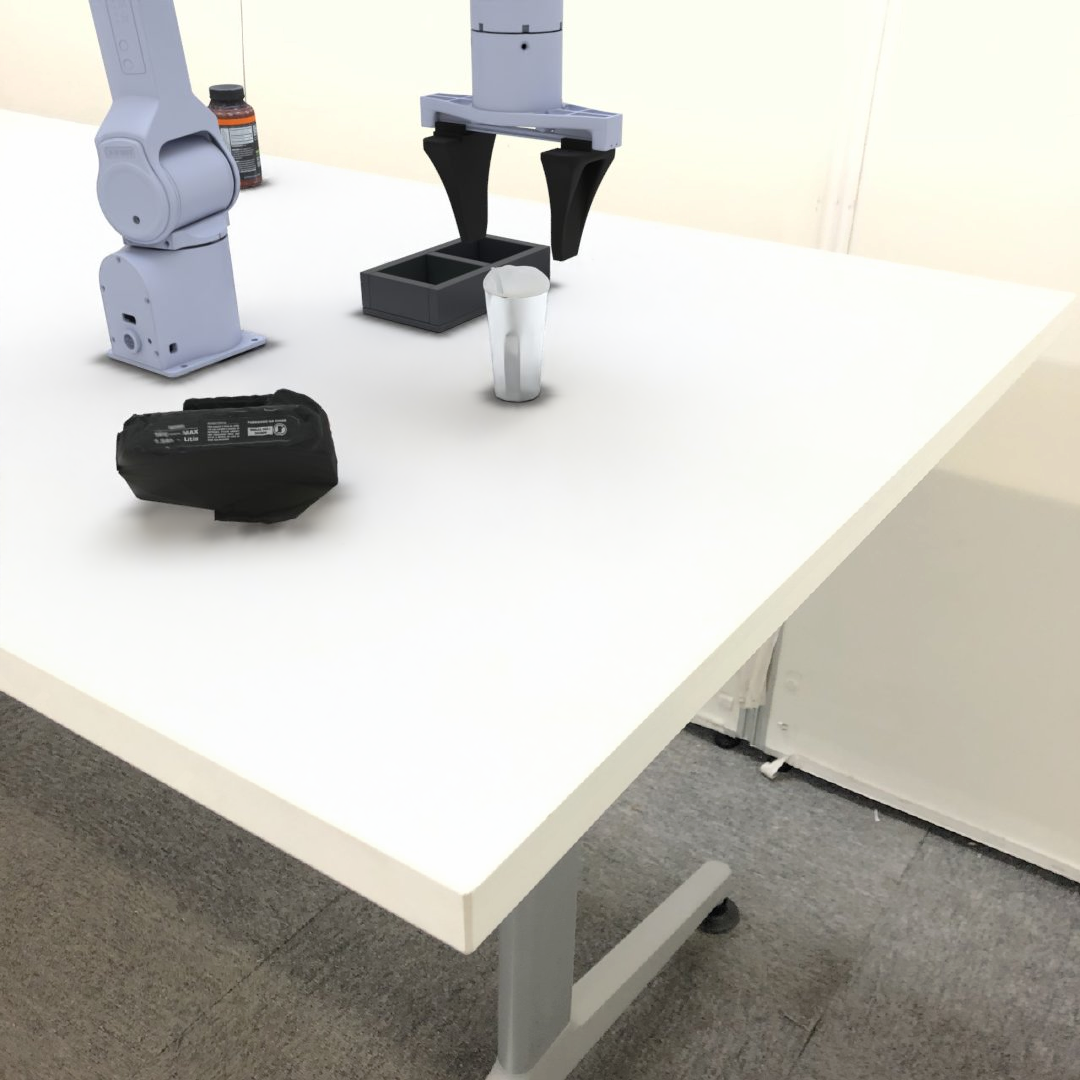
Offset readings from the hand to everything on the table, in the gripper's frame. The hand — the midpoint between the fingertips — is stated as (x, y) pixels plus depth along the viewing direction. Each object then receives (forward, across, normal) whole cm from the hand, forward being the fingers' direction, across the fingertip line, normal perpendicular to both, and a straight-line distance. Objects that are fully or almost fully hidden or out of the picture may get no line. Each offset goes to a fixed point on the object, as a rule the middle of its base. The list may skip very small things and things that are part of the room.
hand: (518, 248), depth 76 cm
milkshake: (+11, 0, +1) cm, 11 cm away
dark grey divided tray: (+10, +17, -14) cm, 24 cm away
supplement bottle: (+10, +66, -34) cm, 75 cm away
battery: (+11, +3, +24) cm, 26 cm away
